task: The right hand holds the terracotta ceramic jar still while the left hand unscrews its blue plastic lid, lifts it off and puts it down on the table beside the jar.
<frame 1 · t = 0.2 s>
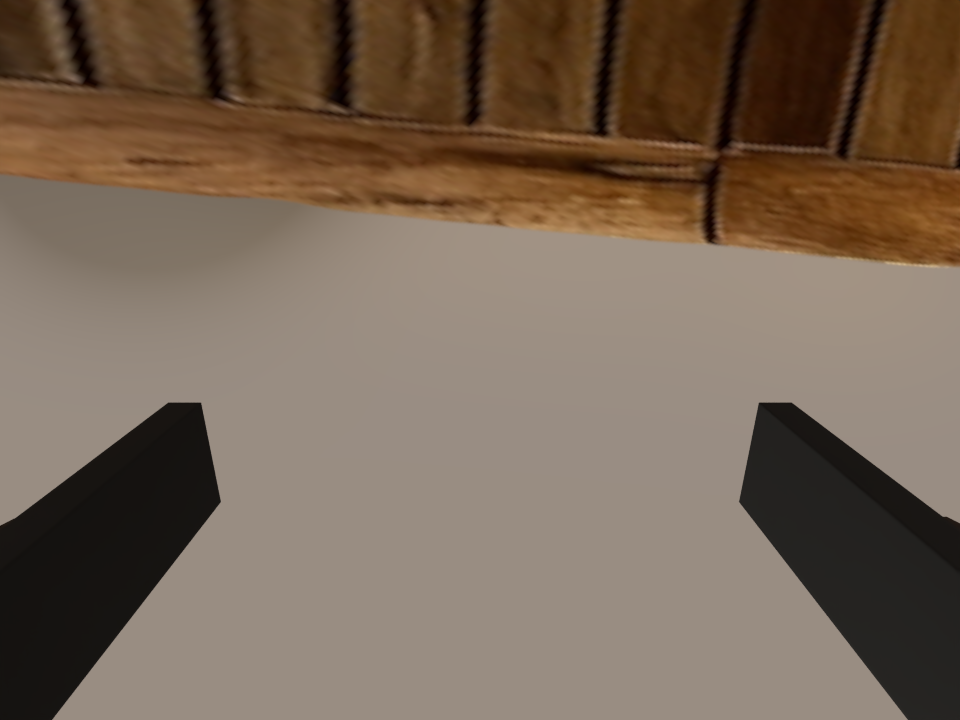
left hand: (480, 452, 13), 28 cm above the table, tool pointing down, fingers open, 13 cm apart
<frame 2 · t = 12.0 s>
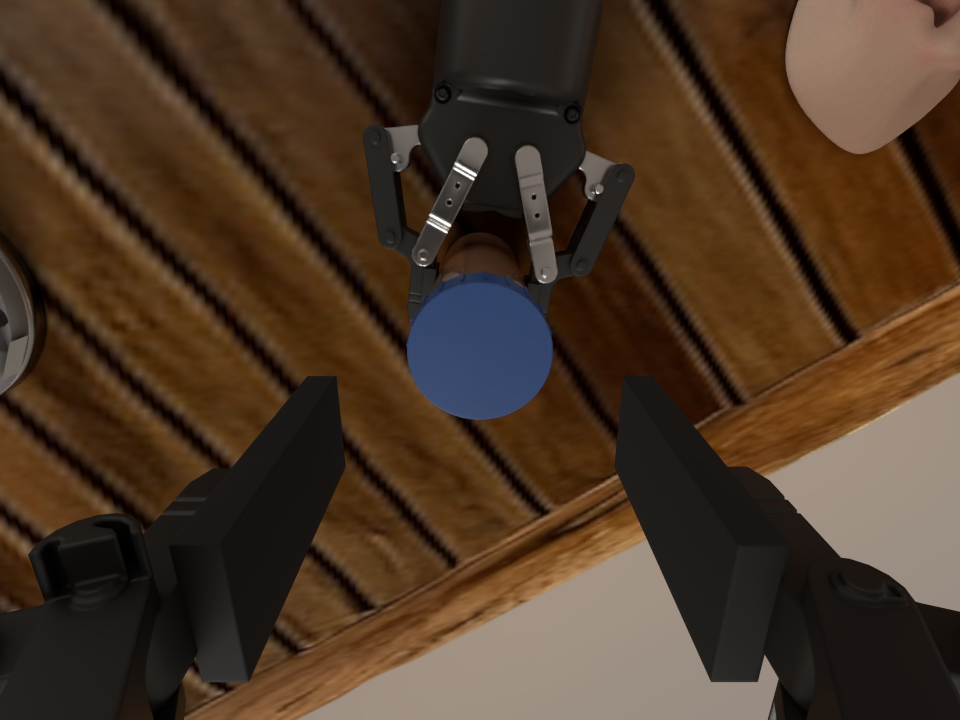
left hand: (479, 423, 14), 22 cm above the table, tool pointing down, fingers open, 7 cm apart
right hand: (474, 334, 30), fingers closed on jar, 5 cm apart
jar: (480, 270, 35), on the table, touching right hand
anatomical model: (883, 21, 30), on the table
lid: (479, 351, 20), point 17 cm above the table, screwed on, not yet turned
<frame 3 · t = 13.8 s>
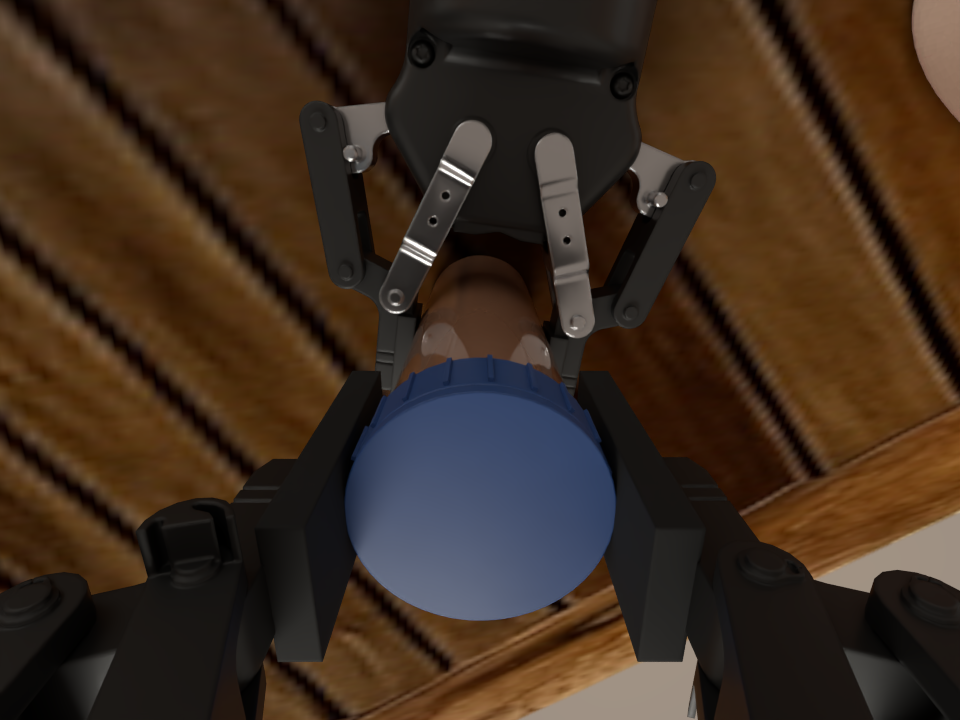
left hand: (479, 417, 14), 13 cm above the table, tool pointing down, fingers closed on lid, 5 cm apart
right hand: (471, 405, 21), fingers closed on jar, 5 cm apart
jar: (480, 305, 26), on the table, touching right hand
lid: (480, 505, 11), point 17 cm above the table, screwed on, not yet turned, touching left hand
when the left hand's fingers open (13 cm above the table, at t = 15.1 s): lid stays where it is, point 17 cm above the table.
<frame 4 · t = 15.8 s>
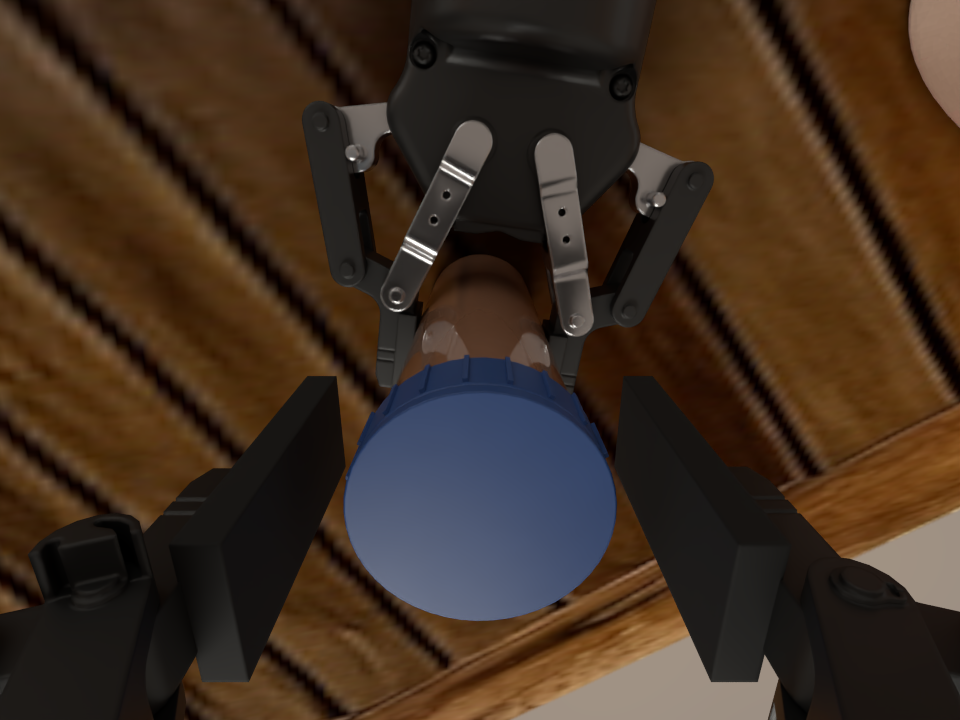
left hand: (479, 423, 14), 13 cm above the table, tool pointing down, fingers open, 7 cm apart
right hand: (471, 403, 21), fingers closed on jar, 5 cm apart
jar: (480, 304, 26), on the table, touching right hand
lid: (480, 505, 11), point 17 cm above the table, turned 64° so far, risen 0.2 cm, still on its thread
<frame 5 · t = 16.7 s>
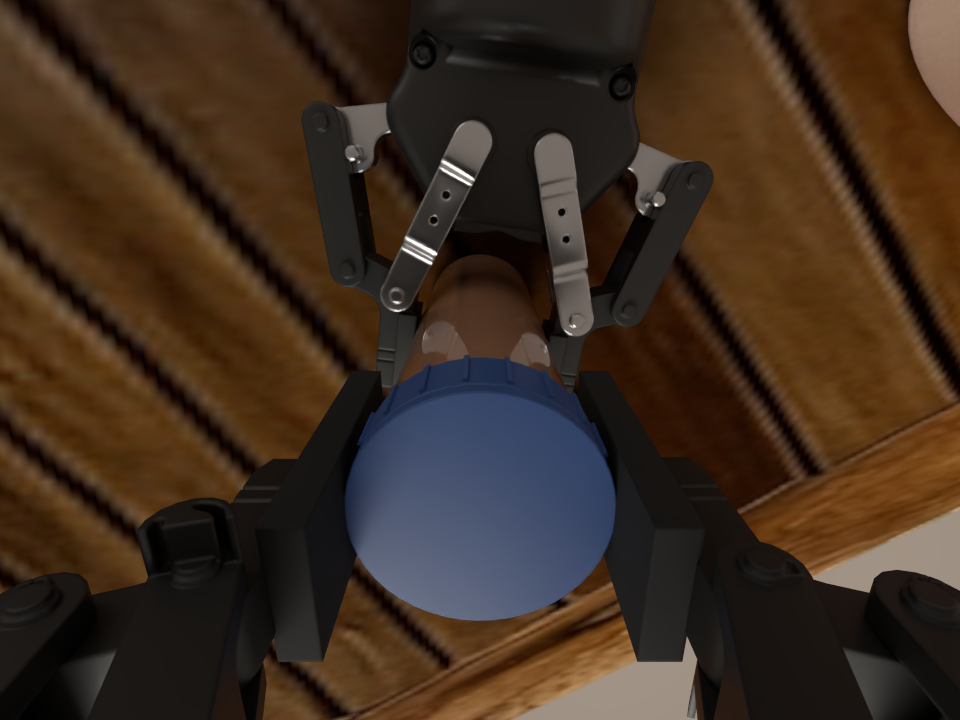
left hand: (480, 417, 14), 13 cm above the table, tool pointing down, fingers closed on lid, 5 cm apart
right hand: (471, 403, 21), fingers closed on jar, 5 cm apart
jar: (480, 304, 26), on the table, touching right hand
lid: (480, 505, 11), point 17 cm above the table, turned 64° so far, risen 0.2 cm, still on its thread, touching left hand
when the left hand's fingers open (0 cm above the table, at t = 22.9 s): lid drops 2 cm, point 2 cm above the table.
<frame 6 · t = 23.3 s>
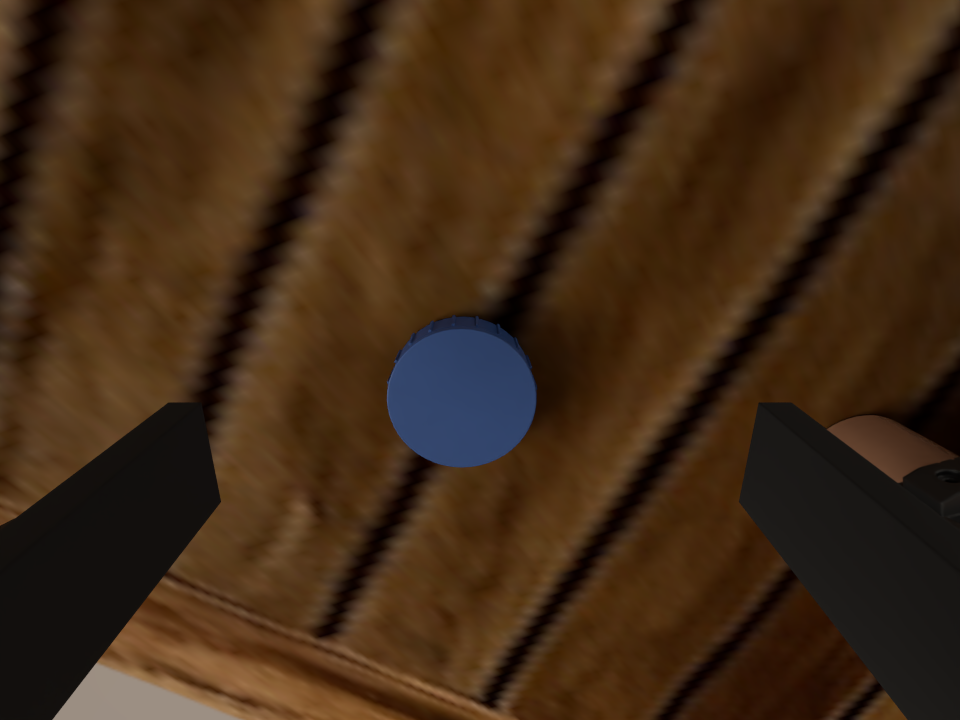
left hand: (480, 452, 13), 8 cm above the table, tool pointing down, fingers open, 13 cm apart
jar: (855, 468, 22), on the table, touching right hand
lid: (462, 397, 19), point 2 cm above the table, off its thread
when the right hand's fingers open (6 cm above the table, at t = 23.6 s): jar stays where it is, on the table.
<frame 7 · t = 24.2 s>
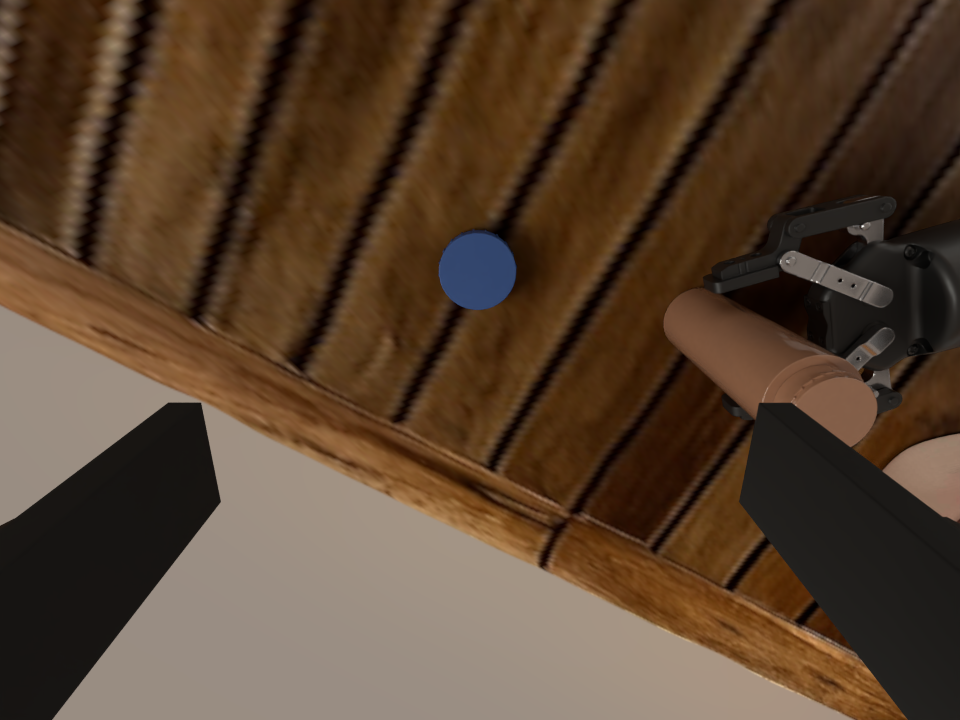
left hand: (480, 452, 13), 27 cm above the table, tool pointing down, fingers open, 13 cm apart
right hand: (718, 348, 34), fingers open, 8 cm apart
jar: (696, 320, 40), on the table
anatomical model: (940, 488, 45), on the table
lid: (477, 271, 37), point 2 cm above the table, off its thread
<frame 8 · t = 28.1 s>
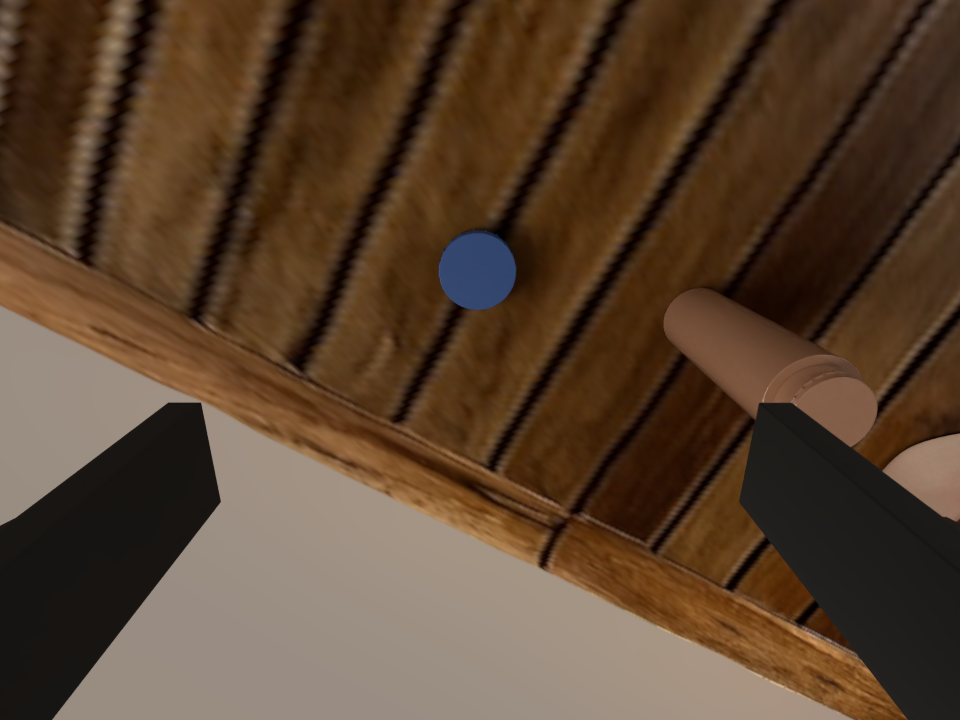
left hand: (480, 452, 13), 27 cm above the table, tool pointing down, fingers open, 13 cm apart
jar: (696, 320, 40), on the table
anatomical model: (940, 488, 45), on the table
lid: (477, 271, 37), point 2 cm above the table, off its thread
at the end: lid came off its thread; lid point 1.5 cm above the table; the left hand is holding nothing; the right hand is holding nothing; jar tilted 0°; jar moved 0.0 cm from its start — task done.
